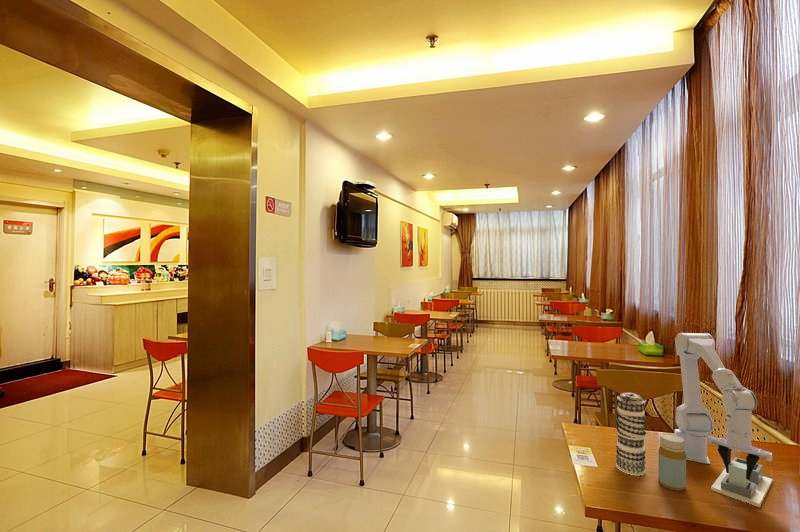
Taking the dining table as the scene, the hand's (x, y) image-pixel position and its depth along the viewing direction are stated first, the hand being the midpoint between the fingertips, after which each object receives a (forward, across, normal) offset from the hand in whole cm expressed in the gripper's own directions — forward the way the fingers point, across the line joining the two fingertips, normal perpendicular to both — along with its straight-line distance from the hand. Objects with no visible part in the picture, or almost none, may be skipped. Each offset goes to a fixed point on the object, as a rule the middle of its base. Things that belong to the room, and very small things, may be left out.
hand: (738, 475), depth 118 cm
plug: (+3, 0, 0) cm, 3 cm away
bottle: (+6, -14, -11) cm, 19 cm away
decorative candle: (+6, -26, -10) cm, 29 cm away
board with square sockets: (+5, 0, +5) cm, 8 cm away
